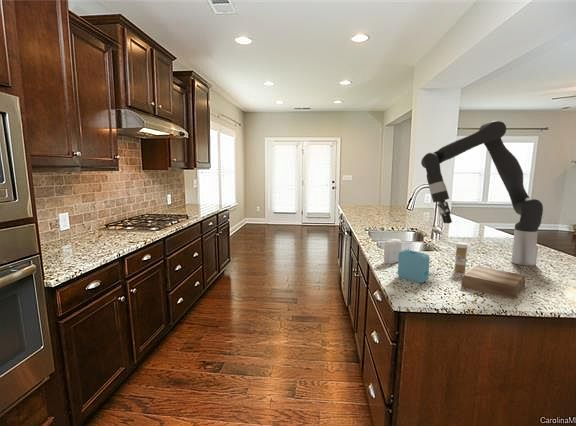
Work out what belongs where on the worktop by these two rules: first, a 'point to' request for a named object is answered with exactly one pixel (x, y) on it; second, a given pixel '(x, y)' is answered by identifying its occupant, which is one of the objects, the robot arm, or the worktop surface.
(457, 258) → the sprinkles bottle
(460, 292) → the worktop surface
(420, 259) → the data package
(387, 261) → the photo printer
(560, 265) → the worktop surface
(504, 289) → the walnut riser
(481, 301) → the worktop surface
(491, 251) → the worktop surface
